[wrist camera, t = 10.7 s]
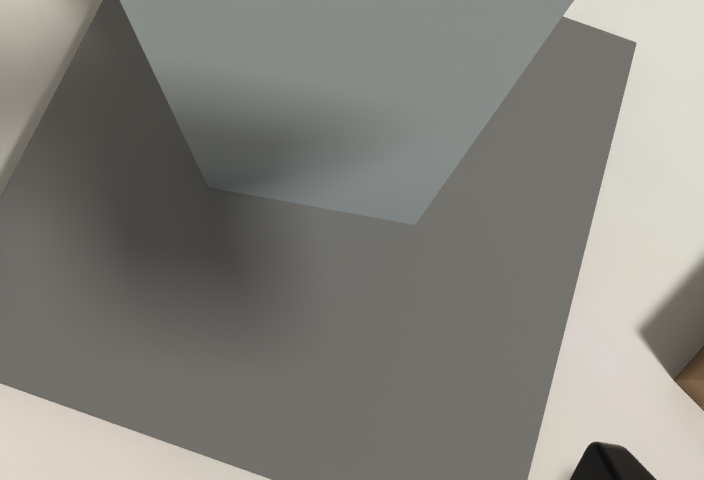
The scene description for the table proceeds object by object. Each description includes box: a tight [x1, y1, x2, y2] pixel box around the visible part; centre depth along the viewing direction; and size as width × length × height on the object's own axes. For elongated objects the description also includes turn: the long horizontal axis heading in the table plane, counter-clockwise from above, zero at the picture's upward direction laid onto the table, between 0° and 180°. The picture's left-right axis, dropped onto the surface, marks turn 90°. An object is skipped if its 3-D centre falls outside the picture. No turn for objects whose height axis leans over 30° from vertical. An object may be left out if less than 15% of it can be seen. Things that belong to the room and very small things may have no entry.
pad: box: [0, 0, 636, 480], centre depth 18 cm, size 16×16×1 cm
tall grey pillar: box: [120, 0, 574, 225], centre depth 12 cm, size 2×6×12 cm, turn 80°
